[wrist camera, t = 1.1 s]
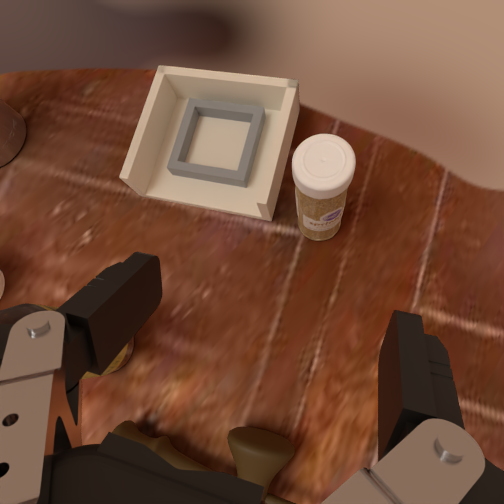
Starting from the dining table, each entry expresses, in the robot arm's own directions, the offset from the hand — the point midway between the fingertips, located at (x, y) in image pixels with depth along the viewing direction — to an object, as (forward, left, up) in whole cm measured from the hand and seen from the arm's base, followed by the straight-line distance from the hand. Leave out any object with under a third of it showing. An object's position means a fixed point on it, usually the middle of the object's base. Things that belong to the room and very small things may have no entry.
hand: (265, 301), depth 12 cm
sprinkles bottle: (0, +12, -25) cm, 28 cm away
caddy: (-13, +18, -25) cm, 33 cm away
